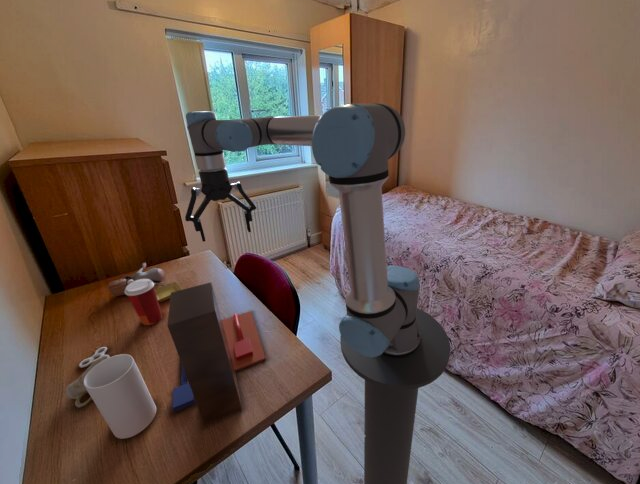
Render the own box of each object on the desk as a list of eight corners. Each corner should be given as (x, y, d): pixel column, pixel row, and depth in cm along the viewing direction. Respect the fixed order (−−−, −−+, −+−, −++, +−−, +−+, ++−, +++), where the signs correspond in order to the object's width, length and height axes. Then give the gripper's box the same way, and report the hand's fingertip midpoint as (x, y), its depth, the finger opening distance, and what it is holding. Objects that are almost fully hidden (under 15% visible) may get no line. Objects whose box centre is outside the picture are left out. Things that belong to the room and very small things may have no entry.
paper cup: (167, 309, 99) (155, 275, 94) (163, 323, 93) (149, 288, 87) (141, 315, 97) (127, 280, 91) (135, 330, 90) (119, 294, 85)
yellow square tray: (151, 295, 107) (150, 290, 106) (176, 285, 113) (175, 280, 112) (158, 305, 101) (156, 300, 101) (184, 294, 107) (183, 289, 106)
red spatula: (228, 318, 94) (227, 314, 93) (242, 313, 96) (241, 310, 95) (236, 361, 78) (235, 357, 78) (253, 355, 80) (252, 351, 79)
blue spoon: (176, 353, 82) (175, 349, 81) (193, 347, 84) (192, 343, 83) (174, 412, 66) (172, 408, 66) (195, 403, 68) (193, 399, 68)
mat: (251, 312, 97) (251, 311, 97) (265, 359, 79) (265, 357, 79) (213, 324, 92) (212, 323, 92) (219, 377, 74) (218, 376, 74)
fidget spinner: (77, 369, 77) (76, 367, 77) (90, 351, 83) (89, 349, 83) (107, 363, 79) (106, 361, 79) (117, 345, 85) (116, 343, 84)
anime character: (172, 274, 108) (115, 297, 96) (177, 288, 110) (122, 312, 98) (150, 254, 123) (98, 272, 111) (154, 267, 125) (105, 285, 113)
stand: (235, 372, 76) (211, 281, 64) (242, 408, 67) (215, 311, 55) (202, 385, 72) (170, 292, 60) (204, 425, 63) (167, 325, 51)
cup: (123, 406, 68) (96, 358, 61) (161, 398, 69) (140, 350, 63) (105, 443, 60) (73, 393, 54) (148, 432, 62) (123, 382, 56)
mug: (66, 393, 71) (77, 353, 72) (115, 388, 77) (125, 351, 77) (58, 411, 65) (70, 367, 66) (112, 404, 71) (122, 364, 71)
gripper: (254, 162, 91) (264, 223, 99) (163, 171, 80) (183, 239, 89) (259, 166, 85) (268, 231, 93) (161, 177, 74) (183, 249, 83)
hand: (227, 235), depth 91 cm, fingers open, 13 cm apart
